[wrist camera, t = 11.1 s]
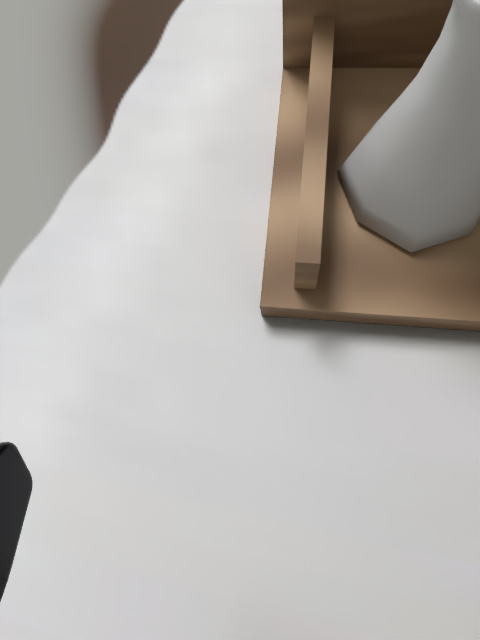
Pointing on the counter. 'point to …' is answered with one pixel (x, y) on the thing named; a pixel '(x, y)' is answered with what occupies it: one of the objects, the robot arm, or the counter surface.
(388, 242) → the spice stand
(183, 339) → the counter surface
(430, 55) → the flask
